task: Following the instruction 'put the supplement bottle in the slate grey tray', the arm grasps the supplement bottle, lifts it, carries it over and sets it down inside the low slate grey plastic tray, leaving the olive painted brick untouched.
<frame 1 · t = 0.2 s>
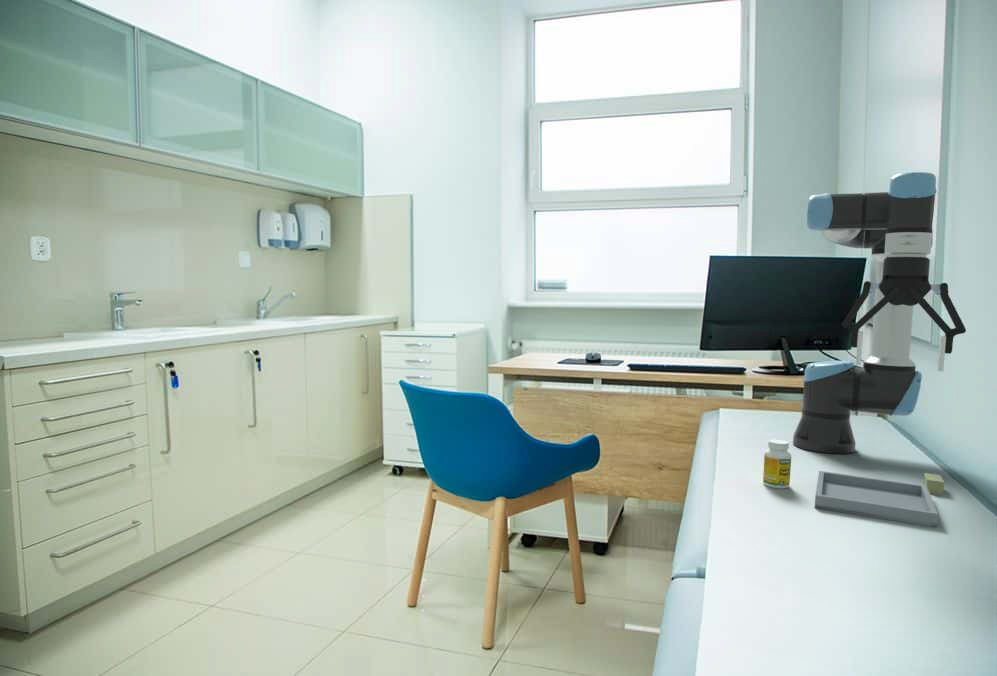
hand: (898, 367, 129), 28 cm above the table, fingers open, 13 cm apart
slate tray: (871, 502, 135), on the table
supplement bottle: (775, 486, 145), on the table
olive brick: (932, 491, 144), on the table
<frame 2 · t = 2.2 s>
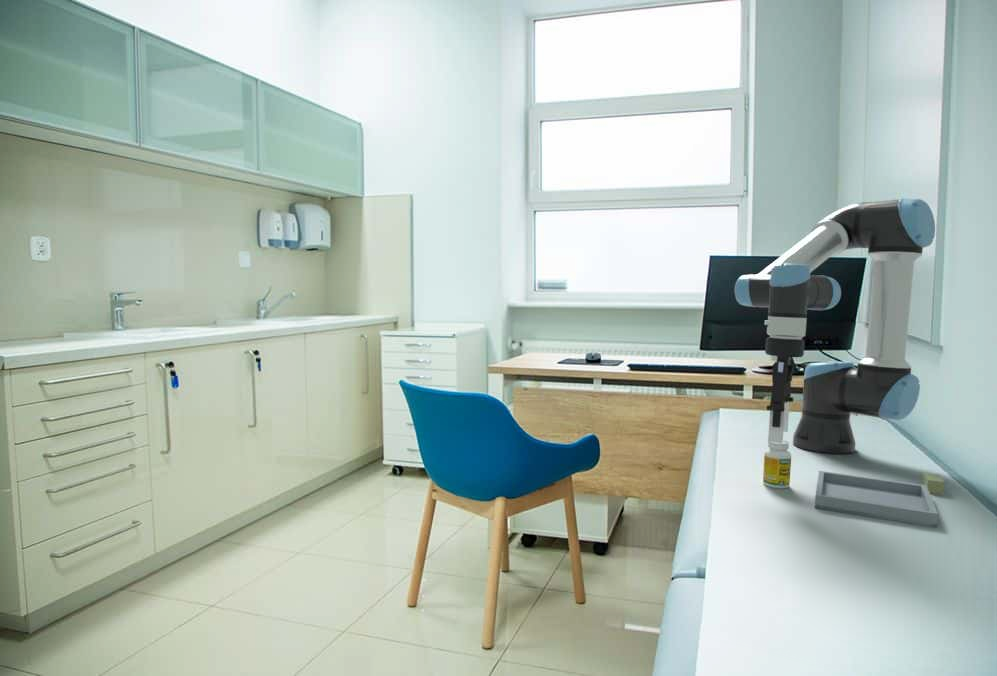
hand: (778, 436, 143), 11 cm above the table, fingers open, 13 cm apart
nothing on the table moved.
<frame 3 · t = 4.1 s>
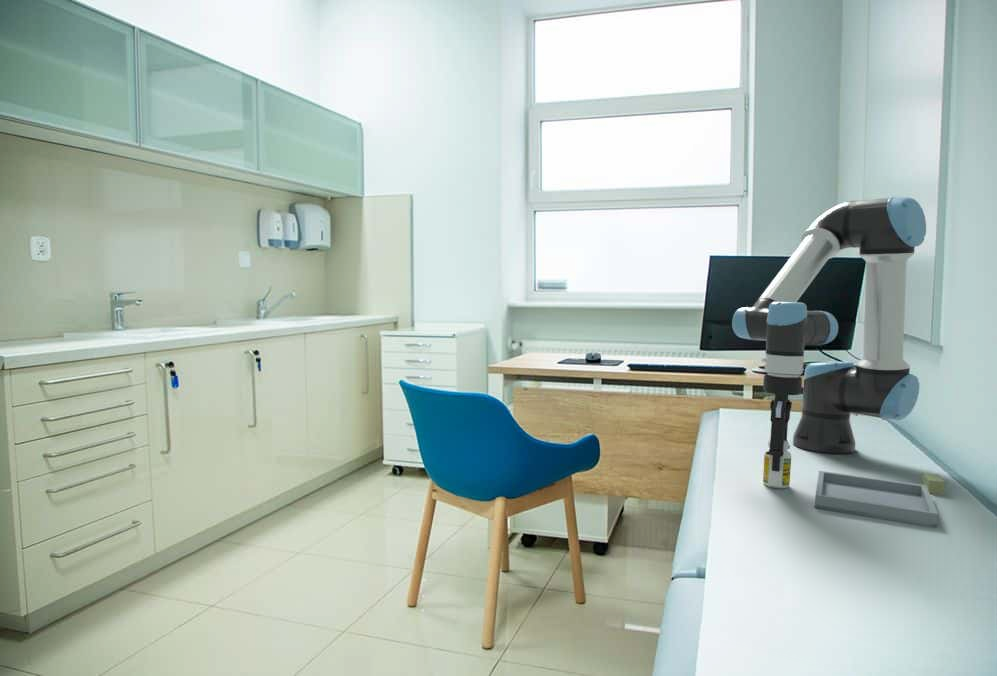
hand: (776, 481, 144), 1 cm above the table, fingers closed on supplement bottle, 5 cm apart
supplement bottle: (775, 486, 145), on the table, touching gripper
everything else where it was.
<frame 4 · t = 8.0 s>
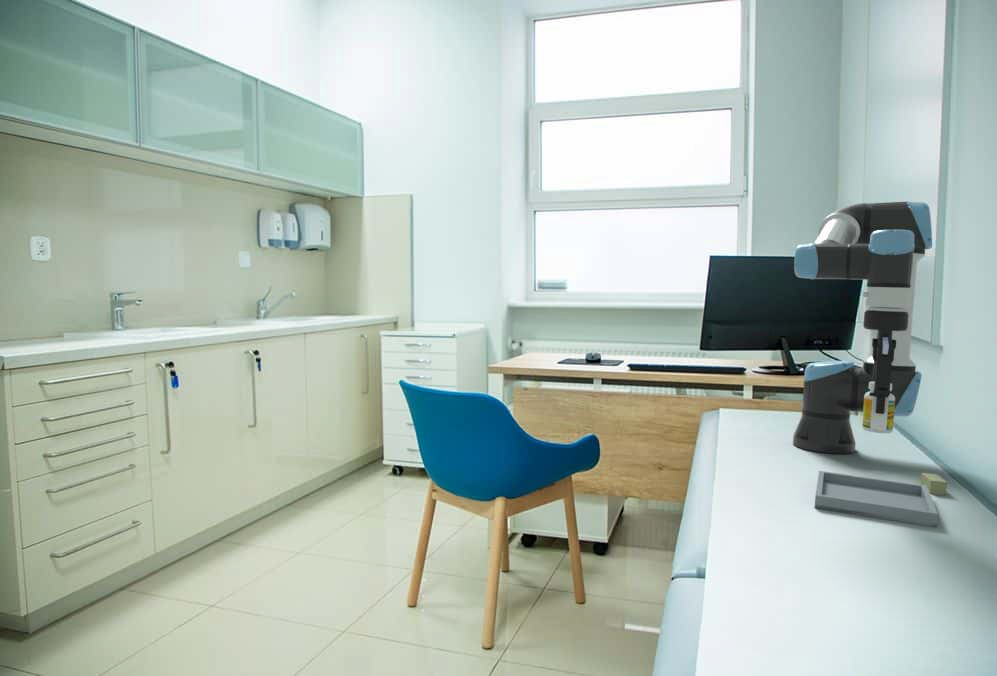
hand: (877, 426, 133), 15 cm above the table, fingers closed on supplement bottle, 5 cm apart
supplement bottle: (877, 431, 133), point 14 cm above the table, touching gripper
everything else where it was.
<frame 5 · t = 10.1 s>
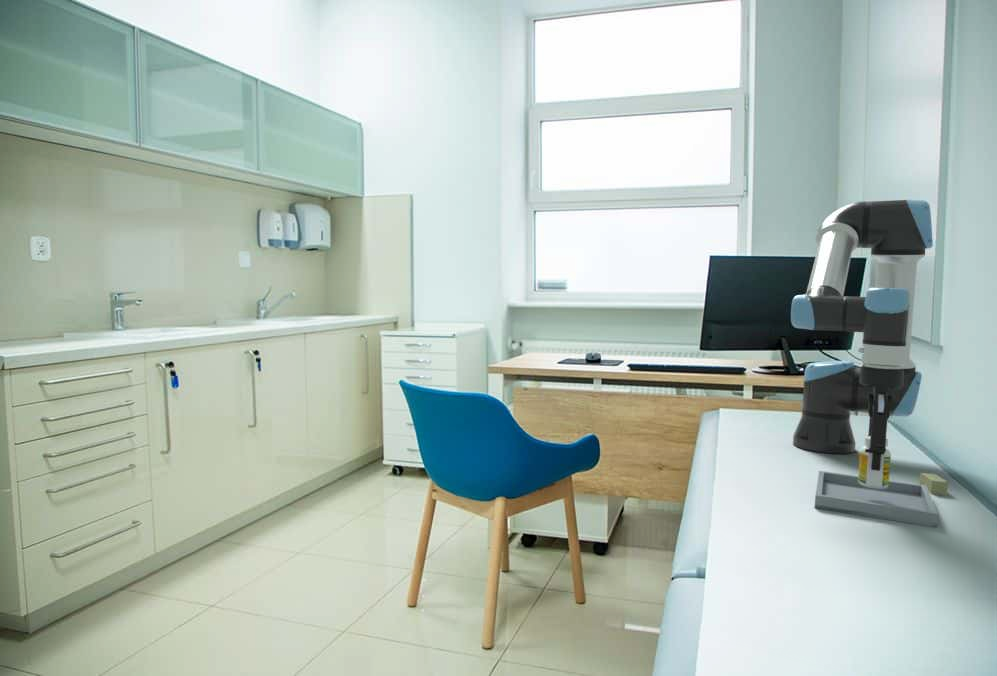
hand: (873, 481, 134), 4 cm above the table, fingers closed on supplement bottle, 5 cm apart
supplement bottle: (872, 486, 134), point 3 cm above the table, touching gripper
everything else where it was.
when the fingers open (2 cm above the table, at t = 11.9 s): supplement bottle stays where it is, resting on slate tray.
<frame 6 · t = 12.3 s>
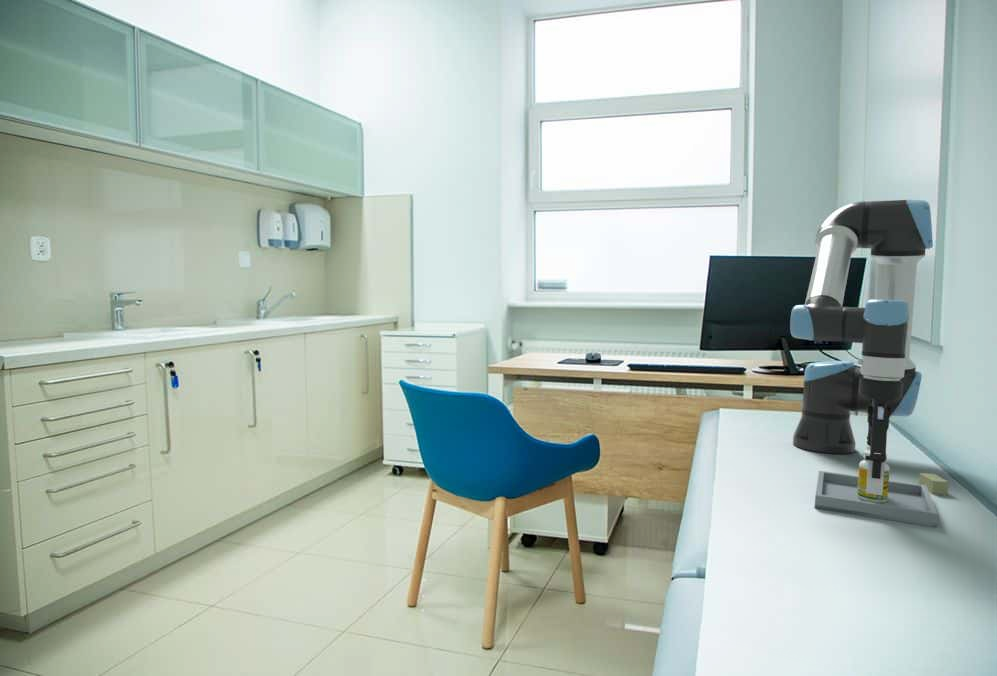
hand: (873, 485, 134), 3 cm above the table, fingers open, 11 cm apart
supplement bottle: (871, 500, 135), resting on slate tray
everything else where it was.
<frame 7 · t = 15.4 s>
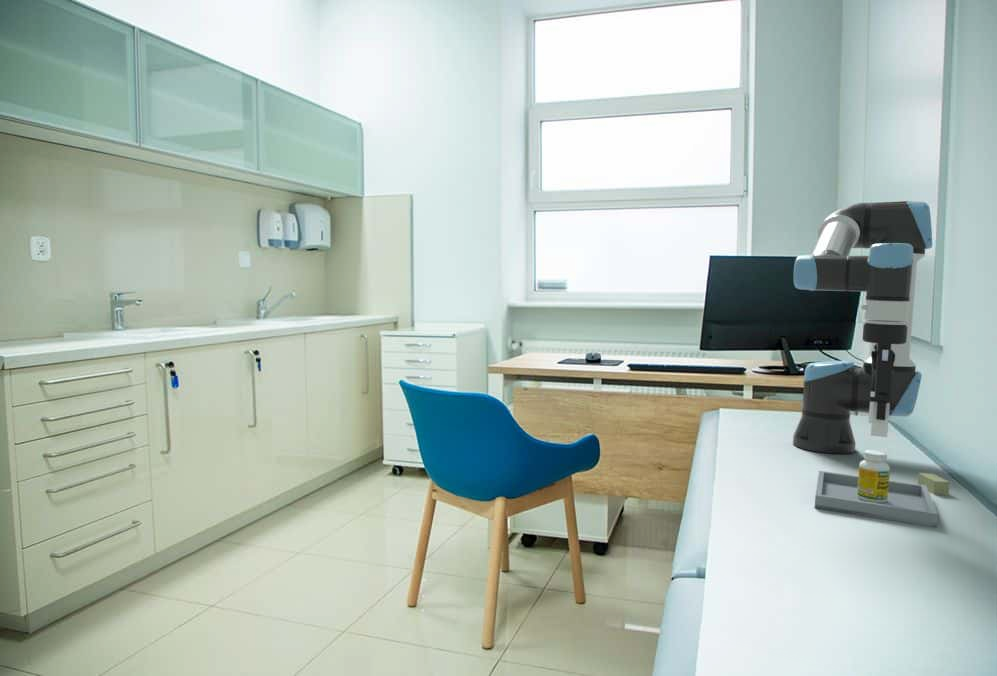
hand: (877, 429, 133), 15 cm above the table, fingers open, 13 cm apart
nothing on the table moved.
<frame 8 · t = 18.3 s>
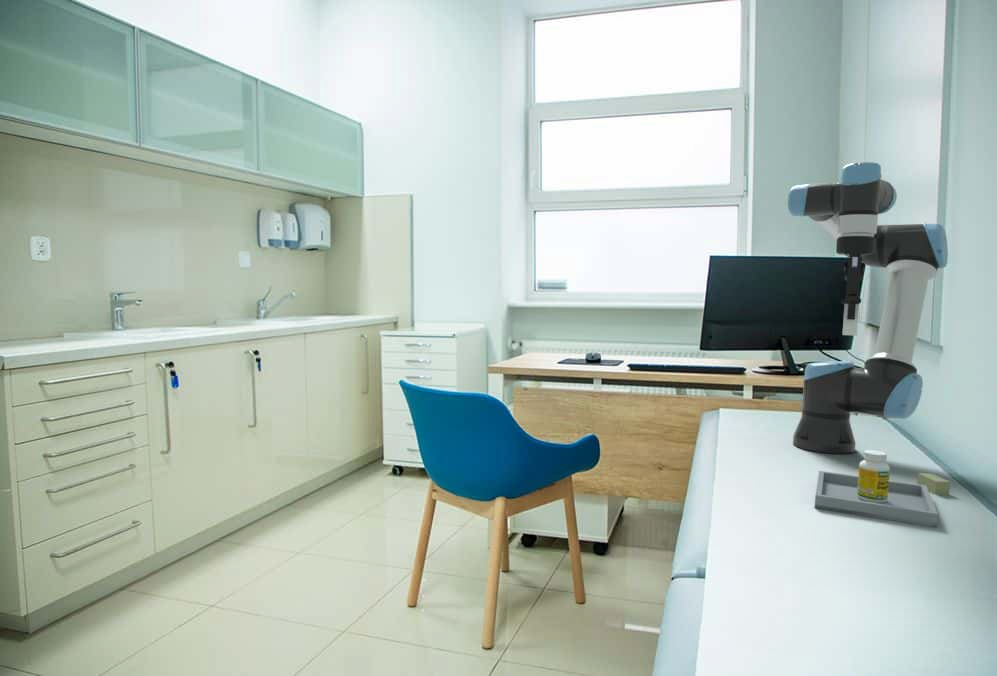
hand: (849, 333, 148), 33 cm above the table, fingers open, 13 cm apart
nothing on the table moved.
at the end: supplement bottle inside the target area on the slate tray (0.0 cm from its centre), point 0.4 cm above the slate tray's base; the gripper is holding nothing; olive brick moved 0.2 cm from its start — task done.
